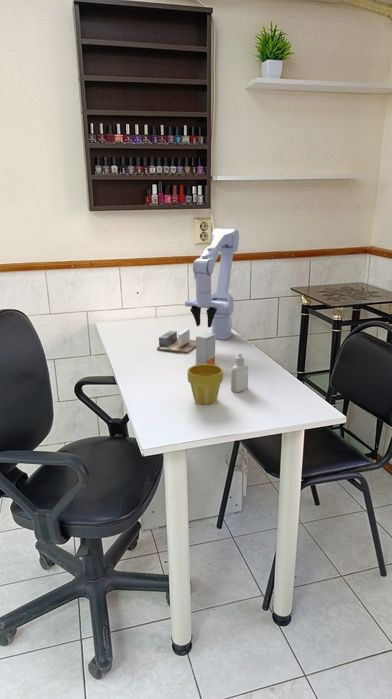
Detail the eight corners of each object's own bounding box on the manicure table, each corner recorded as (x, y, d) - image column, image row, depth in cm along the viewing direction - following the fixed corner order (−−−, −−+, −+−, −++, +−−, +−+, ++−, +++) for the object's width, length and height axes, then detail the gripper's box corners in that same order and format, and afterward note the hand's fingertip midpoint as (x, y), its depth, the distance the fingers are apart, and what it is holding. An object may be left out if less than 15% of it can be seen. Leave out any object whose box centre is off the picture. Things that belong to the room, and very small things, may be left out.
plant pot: (202, 390, 154) (202, 361, 151) (229, 398, 148) (230, 368, 145) (181, 401, 147) (180, 370, 144) (208, 410, 140) (208, 379, 137)
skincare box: (205, 371, 169) (205, 338, 165) (195, 369, 172) (195, 336, 168) (215, 366, 174) (215, 333, 170) (206, 364, 176) (205, 331, 172)
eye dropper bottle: (250, 391, 153) (250, 355, 149) (232, 393, 152) (232, 356, 148) (246, 386, 157) (247, 350, 153) (229, 387, 156) (229, 351, 152)
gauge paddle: (186, 340, 198) (186, 328, 196) (189, 340, 197) (189, 329, 196) (174, 349, 188) (174, 336, 186) (177, 349, 187) (177, 337, 186)
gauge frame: (172, 339, 204) (172, 329, 202) (201, 343, 199) (201, 332, 198) (156, 350, 191) (155, 339, 190) (186, 354, 186) (186, 343, 185)
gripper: (181, 291, 183) (182, 327, 188) (218, 294, 178) (218, 330, 182) (189, 288, 189) (189, 322, 194) (224, 290, 184) (224, 325, 188)
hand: (204, 326), depth 188 cm, fingers open, 4 cm apart
